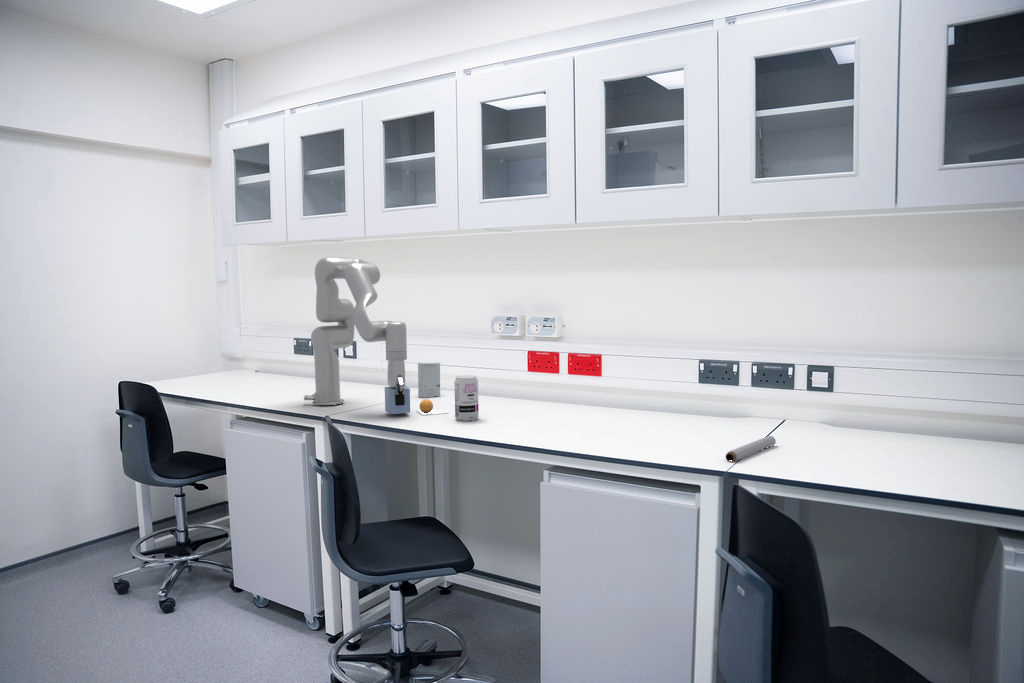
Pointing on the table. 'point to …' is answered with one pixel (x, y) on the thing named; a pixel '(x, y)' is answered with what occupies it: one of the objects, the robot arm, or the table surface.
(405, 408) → the light blue square block
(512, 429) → the table surface
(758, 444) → the grey tube
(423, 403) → the ball
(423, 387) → the skincare box
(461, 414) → the supplement can
